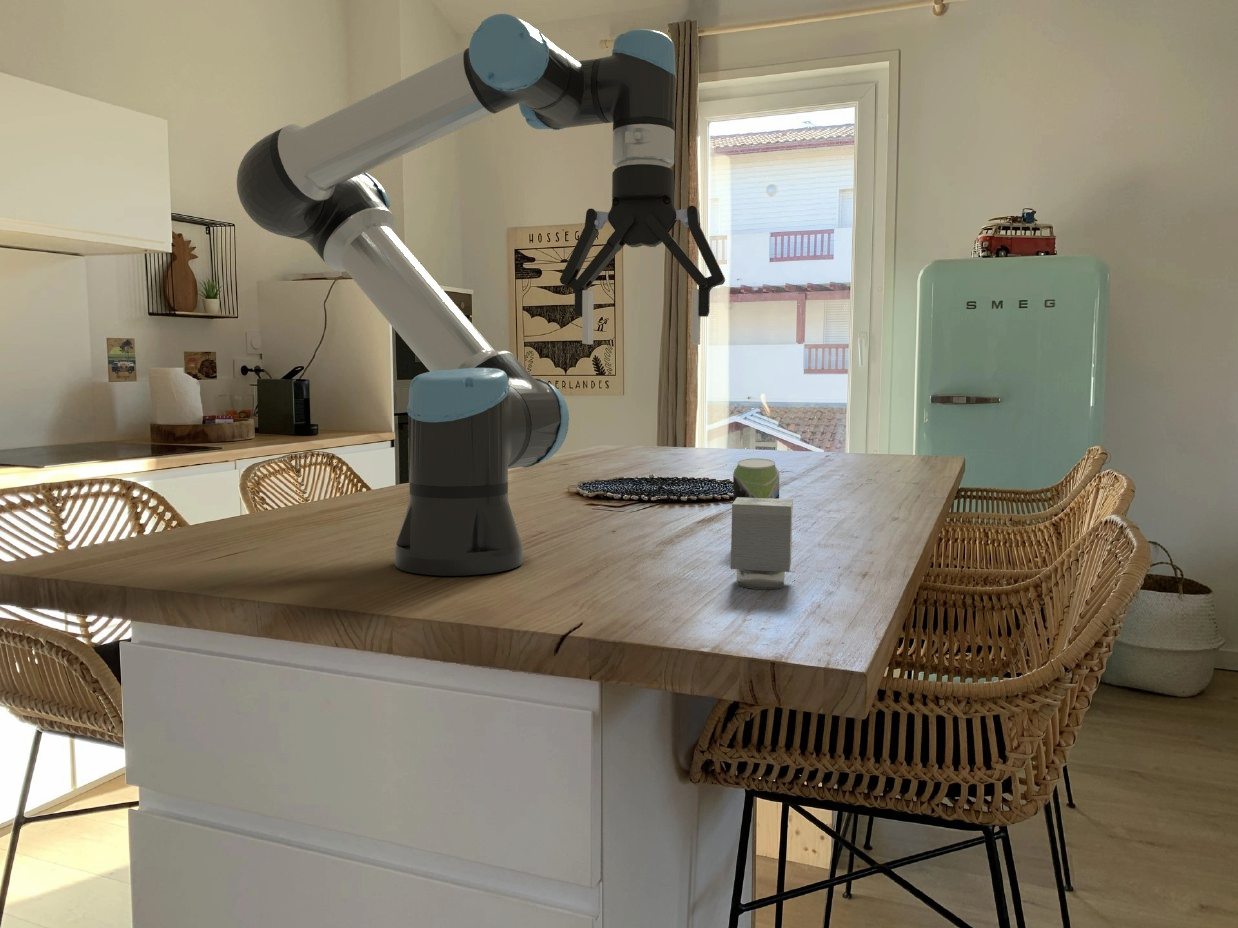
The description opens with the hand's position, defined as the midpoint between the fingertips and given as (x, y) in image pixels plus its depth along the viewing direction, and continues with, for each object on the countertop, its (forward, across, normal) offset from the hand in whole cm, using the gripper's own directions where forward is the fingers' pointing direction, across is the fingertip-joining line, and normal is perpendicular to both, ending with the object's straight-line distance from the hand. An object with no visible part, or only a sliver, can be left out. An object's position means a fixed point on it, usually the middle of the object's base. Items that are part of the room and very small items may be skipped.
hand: (641, 344), depth 115 cm
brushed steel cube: (+24, +16, -12) cm, 32 cm away
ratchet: (+27, +16, -6) cm, 32 cm away
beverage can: (+27, +14, +10) cm, 32 cm away
